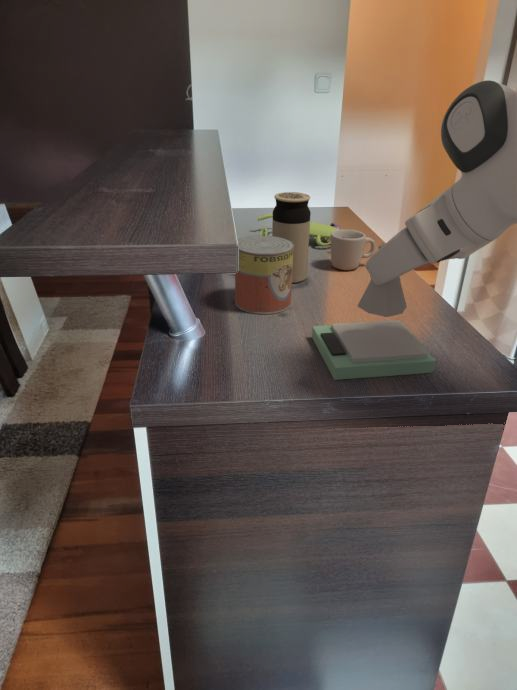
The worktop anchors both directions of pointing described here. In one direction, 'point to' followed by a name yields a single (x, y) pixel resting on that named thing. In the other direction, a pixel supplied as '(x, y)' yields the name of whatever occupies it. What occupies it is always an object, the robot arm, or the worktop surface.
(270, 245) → the canned food
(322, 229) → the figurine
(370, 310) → the flask
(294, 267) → the travel mug
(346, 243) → the cup
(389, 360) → the scale
